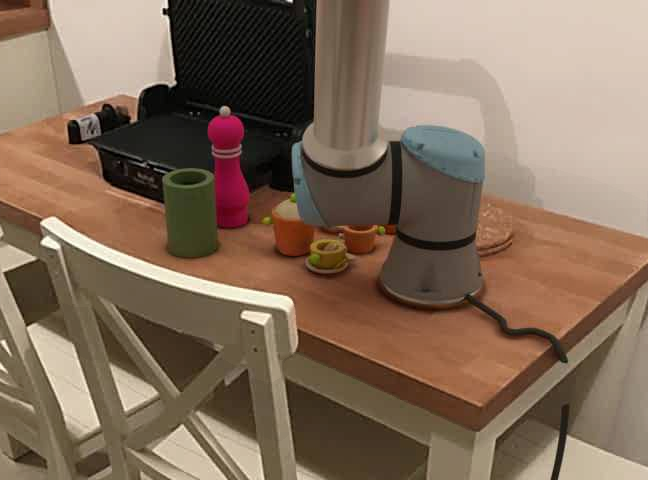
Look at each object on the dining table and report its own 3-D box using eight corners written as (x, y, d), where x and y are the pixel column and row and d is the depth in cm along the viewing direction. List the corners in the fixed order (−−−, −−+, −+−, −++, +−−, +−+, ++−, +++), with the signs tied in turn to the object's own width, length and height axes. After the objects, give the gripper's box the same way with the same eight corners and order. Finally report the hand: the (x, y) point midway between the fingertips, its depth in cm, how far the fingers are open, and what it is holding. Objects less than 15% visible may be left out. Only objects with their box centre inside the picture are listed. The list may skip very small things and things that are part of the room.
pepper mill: (201, 225, 159) (194, 110, 147) (221, 209, 164) (216, 97, 152) (238, 232, 156) (233, 115, 144) (257, 216, 161) (254, 102, 149)
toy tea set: (328, 284, 140) (330, 225, 134) (254, 255, 149) (252, 199, 143) (424, 227, 155) (429, 173, 149) (351, 204, 164) (353, 152, 158)
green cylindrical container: (226, 250, 150) (222, 180, 143) (181, 262, 147) (175, 191, 140) (204, 232, 156) (200, 164, 149) (160, 243, 153) (154, 174, 146)
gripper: (428, -129, 134) (415, 25, 145) (279, -129, 145) (279, 14, 156) (408, -127, 129) (397, 33, 140) (256, -128, 140) (257, 20, 151)
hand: (335, 23), depth 148 cm, fingers open, 13 cm apart
